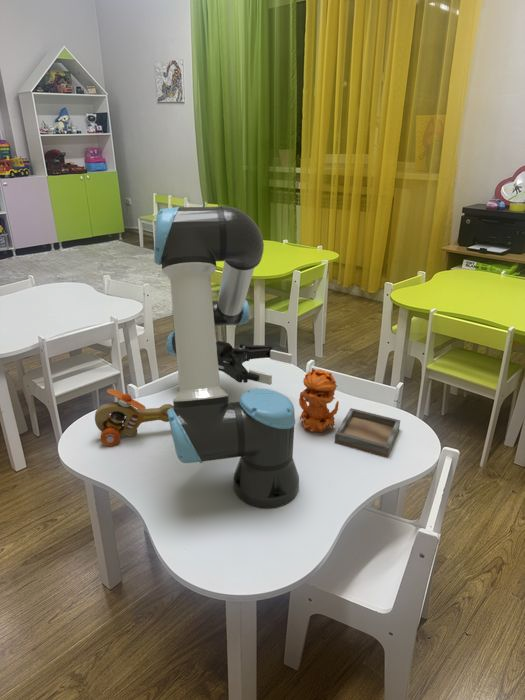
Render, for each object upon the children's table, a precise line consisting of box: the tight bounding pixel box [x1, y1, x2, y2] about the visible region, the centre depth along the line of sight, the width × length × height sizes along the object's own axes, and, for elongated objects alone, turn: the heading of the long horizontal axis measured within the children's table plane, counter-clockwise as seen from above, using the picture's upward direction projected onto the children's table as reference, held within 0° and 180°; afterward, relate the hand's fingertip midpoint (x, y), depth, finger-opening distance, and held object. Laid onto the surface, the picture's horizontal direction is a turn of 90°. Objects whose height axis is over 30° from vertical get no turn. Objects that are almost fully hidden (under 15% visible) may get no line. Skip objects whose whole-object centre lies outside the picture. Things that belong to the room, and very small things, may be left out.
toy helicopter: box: [94, 388, 174, 447], centre depth 125 cm, size 8×21×14 cm, turn 104°
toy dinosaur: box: [298, 367, 340, 433], centre depth 129 cm, size 11×11×18 cm
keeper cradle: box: [334, 407, 401, 459], centre depth 128 cm, size 14×14×3 cm
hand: (281, 369), depth 131 cm, fingers open, 13 cm apart
